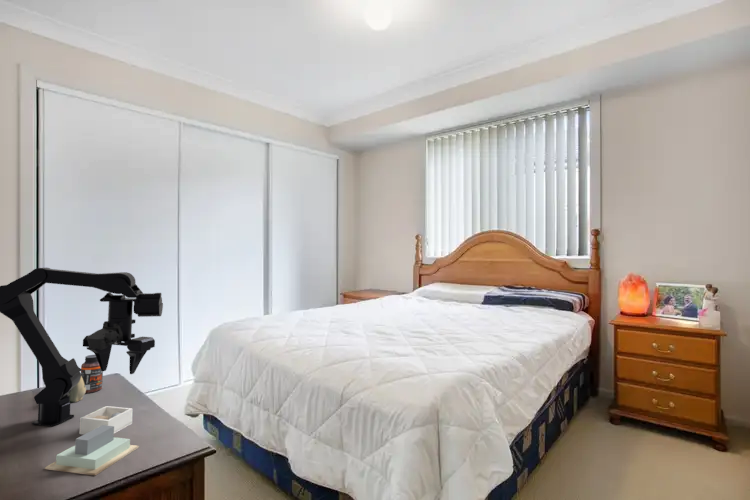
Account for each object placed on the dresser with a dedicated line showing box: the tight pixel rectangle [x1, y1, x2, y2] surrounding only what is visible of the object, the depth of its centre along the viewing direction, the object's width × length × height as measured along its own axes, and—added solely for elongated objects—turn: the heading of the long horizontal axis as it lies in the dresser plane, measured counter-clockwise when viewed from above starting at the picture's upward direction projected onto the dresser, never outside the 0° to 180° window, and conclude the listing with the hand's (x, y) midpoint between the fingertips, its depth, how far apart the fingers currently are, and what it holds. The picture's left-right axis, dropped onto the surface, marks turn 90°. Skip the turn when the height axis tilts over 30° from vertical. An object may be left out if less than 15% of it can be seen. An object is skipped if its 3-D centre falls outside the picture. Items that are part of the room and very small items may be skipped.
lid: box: [55, 425, 131, 469], centre depth 88 cm, size 10×10×5 cm
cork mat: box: [44, 444, 140, 476], centre depth 87 cm, size 12×12×1 cm
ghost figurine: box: [68, 376, 86, 404], centre depth 120 cm, size 6×5×8 cm
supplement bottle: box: [80, 354, 104, 394], centre depth 128 cm, size 6×6×11 cm
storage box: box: [79, 405, 133, 435], centre depth 102 cm, size 8×8×4 cm
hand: (117, 372), depth 110 cm, fingers open, 9 cm apart
